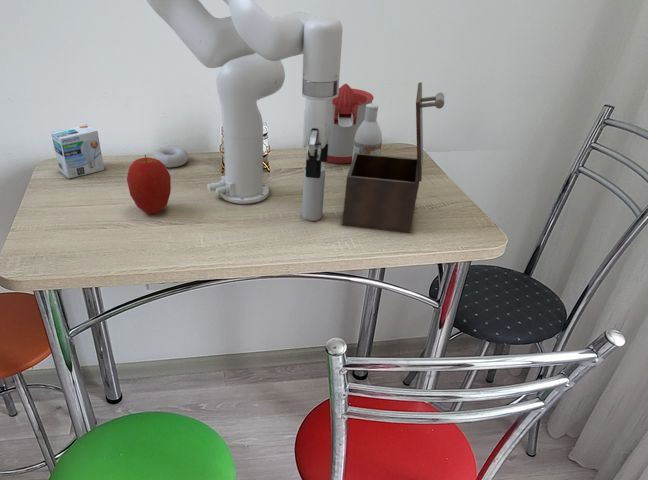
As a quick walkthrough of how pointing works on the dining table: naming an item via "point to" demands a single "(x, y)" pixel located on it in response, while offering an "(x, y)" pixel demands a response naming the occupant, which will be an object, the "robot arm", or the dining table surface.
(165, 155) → the donut
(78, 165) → the light bulb box
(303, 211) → the beverage can
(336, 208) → the dining table surface
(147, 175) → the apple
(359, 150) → the bath foam
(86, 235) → the dining table surface
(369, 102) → the citrus juicer
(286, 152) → the dining table surface
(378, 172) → the chest
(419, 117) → the lid
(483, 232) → the dining table surface
